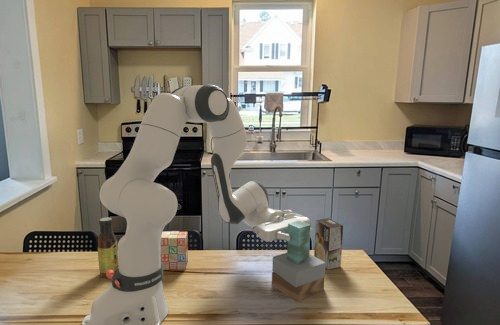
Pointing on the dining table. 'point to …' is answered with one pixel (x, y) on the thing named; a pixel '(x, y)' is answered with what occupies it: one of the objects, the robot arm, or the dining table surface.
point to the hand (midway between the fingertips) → (301, 234)
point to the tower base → (300, 291)
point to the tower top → (299, 270)
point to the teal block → (298, 242)
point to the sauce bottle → (107, 247)
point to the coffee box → (328, 242)
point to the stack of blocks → (174, 250)
